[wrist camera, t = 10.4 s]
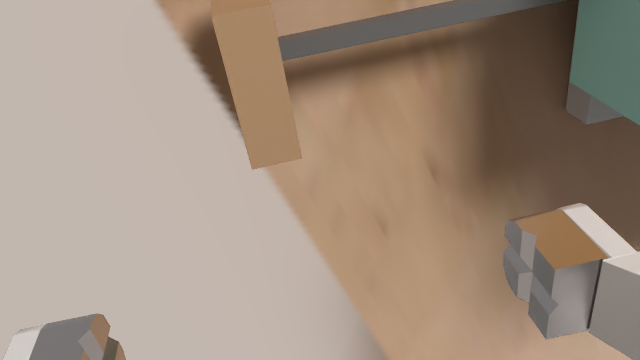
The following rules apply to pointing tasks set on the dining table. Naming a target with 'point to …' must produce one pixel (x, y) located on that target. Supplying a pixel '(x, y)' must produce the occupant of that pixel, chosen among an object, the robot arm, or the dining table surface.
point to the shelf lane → (587, 104)
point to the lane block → (468, 4)
